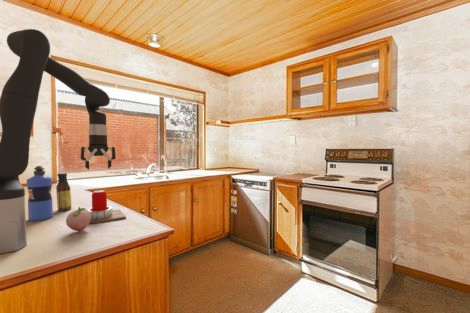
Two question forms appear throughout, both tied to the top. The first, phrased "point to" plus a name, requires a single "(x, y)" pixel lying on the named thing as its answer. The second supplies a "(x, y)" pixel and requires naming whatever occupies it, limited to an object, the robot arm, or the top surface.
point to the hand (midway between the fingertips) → (98, 168)
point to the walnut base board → (115, 216)
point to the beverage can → (99, 200)
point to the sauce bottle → (63, 193)
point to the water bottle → (39, 196)
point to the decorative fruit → (78, 219)
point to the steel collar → (100, 213)
